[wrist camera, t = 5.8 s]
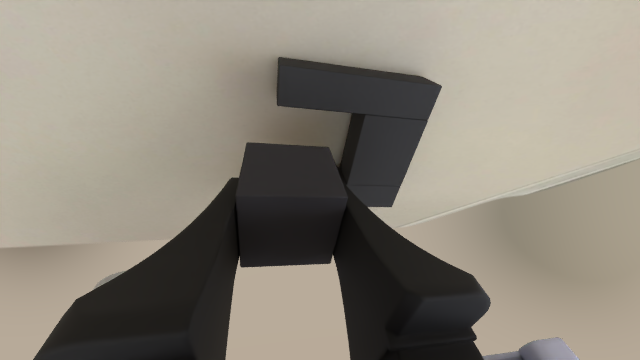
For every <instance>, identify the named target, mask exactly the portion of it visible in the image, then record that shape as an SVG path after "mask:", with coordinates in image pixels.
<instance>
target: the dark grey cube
mask: <svg viewBox="0 0 640 360" xmlns="http://www.w3.org/2000/svg"><path fill="white" fill-rule="evenodd" d="M235 198H236V212H237V226H238V239H239V253H240V266H241V267H262V266H286V265H309V264H330V263H331V259H332V255H333V252H334V248H335V244H336V240H337V237H338V233H339V229H340V226H341V222H342V218H343V215H344V211H345V207H346V203H347V200H348V196H347V193H346V191H345V188H344V185H343V183H342V180H341V178H340V175H339V172H338V170H337V167H336V165H335V162H334V159H333V157H332V154H331V151H330V149H329V147H316V146H299V145H282V144H266V143H249V142H248V143H247V144H246V148H245V153H244V158H243V162H242V167H241V172H240V176H239V181H238V186H237V190H236V195H235Z"/></svg>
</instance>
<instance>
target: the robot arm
mask: <svg viewBox="0 0 640 360" xmlns="http://www.w3.org/2000/svg"><path fill="white" fill-rule="evenodd" d="M238 181H239V178H231V179H229V181H228V182H227V184H226V185H225V186H224V188H223V189H222V190H221V191H220V193H219V194H218V195H217V196H216V198H215V199H214V200H213V201H212V202H211V203H210V204H209V206H208V207H207V208H206V209H205V210H204V211H203V212H202V213H201V214H200V215H199V216H198V217H197V218H196V219H195V220H194V221H193V222H192V223H191V224H190V225H189V226H188V227H186V228H185V229H184V230H183V231H182V232H181V233H179V234H178V235H177V236H176V237H175V238H173V239H172V240H171V241H170V242H168V243H167V244H166V245H164V246H163V247H162V248H161V249H159V250H158V251H156V252H155V253H154V254H152V255H151V256H149V257H148V258H146V259H145V260H143V261H142V262H140V263H139V264H137V265H135V266H134V267H132V268H131V269H129V270H127V271H126V272H124V273H123V274H121V275H119V276H118V277H116V278H114V279H112V280H111V281H109V282H107V283H105V284H103V285H102V286H100V287H98V288H96V289H94V290H93V291H91V292H89V293H87V294H86V295H84V296H82V297H80V298H78V299H76V300H75V302H74V303H73V304H72V306H71V307H70V308H69V309H68V311H67V312H66V313H65V314H64V315H63V317H62V318H61V320H60V321H59V323H58V324H57V325H56V327H55V328H54V330H53V331H52V333H51V334H50V336H49V337H48V339H47V340H46V342H45V343H44V344H43V346H42V347H41V349H40V350H39V352H38V353H37V355H36V356H35V358H34V359H33V360H225V357H226V347H227V337H228V329H229V320H230V310H231V302H232V294H233V286H234V279H235V274H236V269H237V264H238V260H239V256H240V253H239V239H238V226H237V212H236V198H235V195H236V190H237V186H238ZM342 183H343V181H342ZM343 185H344V188H345V191H346V193H347V196H348V200H347V203H346V207H345V211H344V215H343V218H342V222H341V226H340V229H339V233H338V237H337V240H336V244H335V248H334V252H333V256H334V260H335V263H336V267H337V271H338V275H339V280H340V286H341V292H342V298H343V305H344V312H345V319H346V326H347V334H348V341H349V350H350V359H351V360H579V358H578V357H577V356H576V355H575V354H574V353H573V351H572V350H571V349H570V348H569V347H568V346H567V345H566V343H565V342H564V341H563V340H562V339H561V338H558V337H557V338H549V339H542V340H536V341H532V342H530V343H527V344H526V345H524V346H523V347H521V348H520V349H519V351H516V352H508V353H502V354H495V355H487V356H482V355H481V354H480V352H479V350H478V349H477V347H476V345H475V343H474V342H473V341H475V340H476V339H477V338H476V335H475V333H474V332H473V330H472V328H471V326H473V325H474V324H475V323H476V322H477V321H478V320H479V319H480V318H481V317H482V316H483V315H484V314H485V313H486V312H487V311H488V309H489V307H490V303H491V302H490V298H489V297H488V295H487V294H486V293H485V291H484V290H483V288H482V287H481V286H480V284H479V283H478V282H477V280H476V279H475V278H474V276H473V275H471V274H469V273H467V272H465V271H463V270H460V269H458V268H456V267H454V266H452V265H450V264H448V263H446V262H444V261H442V260H440V259H438V258H437V257H435V256H433V255H431V254H430V253H428V252H426V251H424V250H423V249H421V248H419V247H418V246H416V245H414V244H413V243H412V242H410V241H409V240H407V239H405V238H404V237H403V236H401V235H400V234H398V233H397V232H396V231H395V230H393V229H392V228H391V227H389V226H388V225H387V224H385V223H384V222H383V221H382V220H381V219H380V218H378V217H377V216H376V215H375V214H374V213H373V212H372V211H371V210H370V209H369V208H368V207H367V206H366V205H365V204H364V203H363V202H362V201H361V200H360V199H359V198H358V197H357V196H356V195H355V194H354V193H353V192H352V191H351V190H350V189H349V188H348V187H347V186H346V185H345V184H344V183H343Z"/></svg>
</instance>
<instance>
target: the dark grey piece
mask: <svg viewBox="0 0 640 360" xmlns="http://www.w3.org/2000/svg"><path fill="white" fill-rule="evenodd" d="M441 88H442V86H441V85H439V84H437V83H435V82H432V81H430V80H428V79H426V78H424V77H420V76H413V75H406V74H398V73H391V72H384V71H377V70H369V69H362V68H355V67H347V66H340V65H333V64H325V63H318V62H311V61H304V60H296V59H289V58H282V57H279V58H278V77H277V105H278V106H284V107H294V108H305V109H315V110H326V111H336V112H347V113H352V118H351V122H350V126H349V131H348V135H347V139H346V144H345V148H344V153H343V157H342V161H341V166H340V168H338V167H337V170H338V172H339V175H340V178H341V180H342V181H343V183H344V184H345V185H346V186H347V187H348V188H349V189H350V190H351V191H352V192H353V193H354V194H355V195H356V196H357V197H358V198H359V199H360V200H361V201H362V202H363V203H364V204H365V205H366V206H367V207H392V205H393V203H394V200H395V198H396V195H397V193H398V191H399V188H400V186H401V184H402V182H403V179H404V177H405V174H406V172H407V170H408V167H409V165H410V162H411V160H412V158H413V155H414V153H415V150H416V148H417V146H418V143H419V141H420V138H421V136H422V134H423V131H424V129H425V126H426V124H427V122H428V121H427V120H428V119H429V116H430V114H431V111H432V109H433V107H434V104H435V102H436V99H437V97H438V95H439V92H440V90H441Z"/></svg>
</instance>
